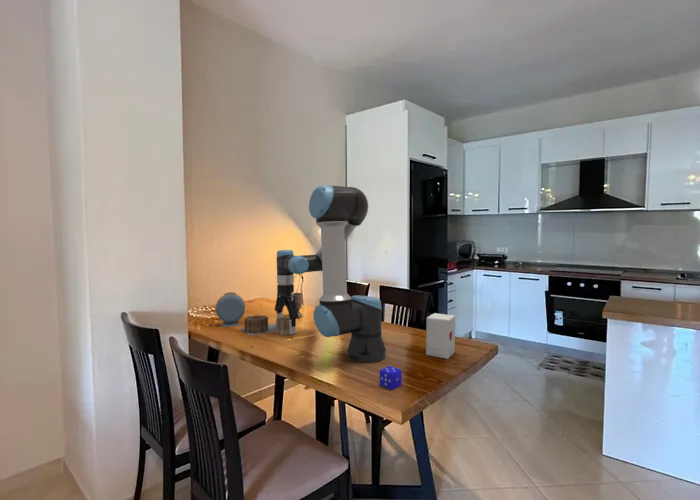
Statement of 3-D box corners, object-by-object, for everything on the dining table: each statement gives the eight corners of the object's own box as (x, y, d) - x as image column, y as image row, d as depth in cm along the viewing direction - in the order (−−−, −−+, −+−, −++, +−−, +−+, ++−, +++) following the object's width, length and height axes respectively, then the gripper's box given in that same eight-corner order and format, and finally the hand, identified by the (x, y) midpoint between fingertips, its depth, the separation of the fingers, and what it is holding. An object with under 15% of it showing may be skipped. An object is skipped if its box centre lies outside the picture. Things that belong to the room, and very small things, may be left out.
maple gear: (299, 336, 172) (298, 319, 171) (281, 340, 167) (281, 322, 167) (290, 332, 179) (290, 315, 179) (273, 335, 174) (273, 318, 174)
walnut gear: (271, 330, 177) (271, 318, 176) (249, 334, 171) (249, 321, 170) (262, 326, 185) (262, 314, 185) (241, 329, 179) (241, 317, 179)
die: (392, 390, 115) (392, 374, 115) (379, 385, 119) (379, 370, 118) (401, 385, 119) (401, 369, 119) (388, 380, 122) (388, 365, 122)
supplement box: (448, 359, 141) (448, 320, 141) (425, 355, 146) (425, 317, 145) (455, 352, 149) (455, 315, 148) (433, 348, 154) (433, 312, 153)
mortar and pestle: (289, 321, 201) (289, 283, 200) (279, 318, 207) (278, 282, 206) (305, 317, 210) (305, 281, 209) (295, 314, 216) (295, 280, 214)
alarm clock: (245, 323, 196) (244, 290, 195) (246, 328, 187) (245, 293, 186) (216, 326, 192) (215, 291, 191) (215, 331, 182) (214, 295, 181)
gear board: (294, 331, 182) (294, 317, 181) (250, 339, 169) (250, 324, 169) (282, 324, 193) (282, 312, 193) (240, 331, 181) (239, 318, 180)
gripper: (305, 286, 163) (306, 334, 165) (281, 279, 184) (282, 322, 185) (289, 288, 159) (290, 337, 161) (267, 281, 180) (267, 325, 181)
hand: (286, 329), depth 173 cm, fingers open, 13 cm apart
